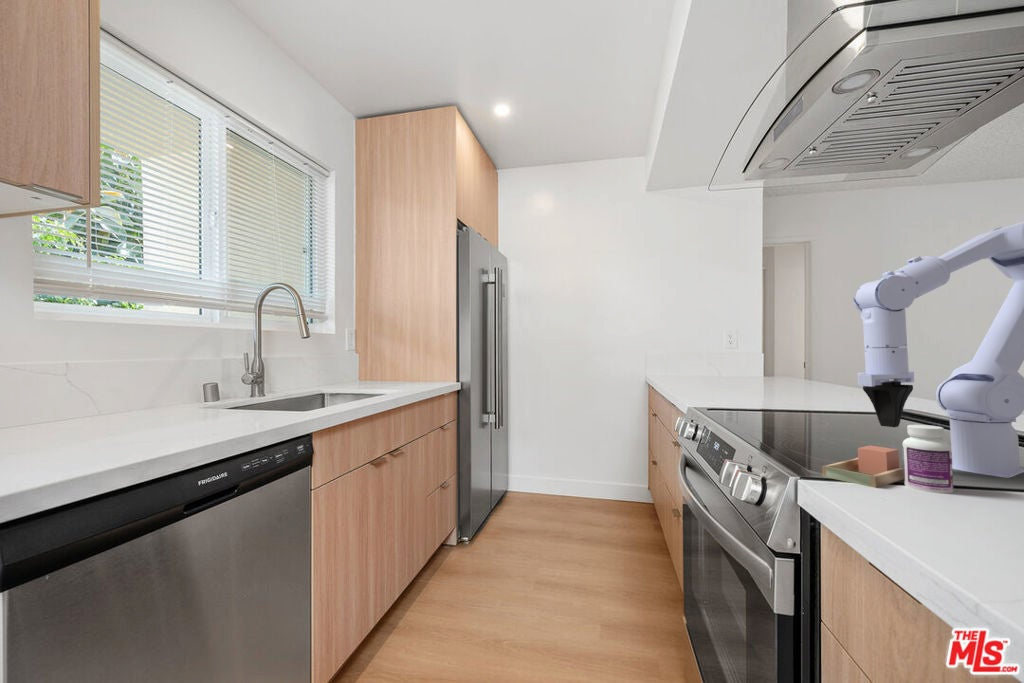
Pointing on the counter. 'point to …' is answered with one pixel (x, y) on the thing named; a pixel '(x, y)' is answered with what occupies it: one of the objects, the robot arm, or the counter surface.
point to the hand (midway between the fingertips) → (889, 426)
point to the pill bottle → (927, 460)
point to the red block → (877, 459)
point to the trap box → (861, 474)
